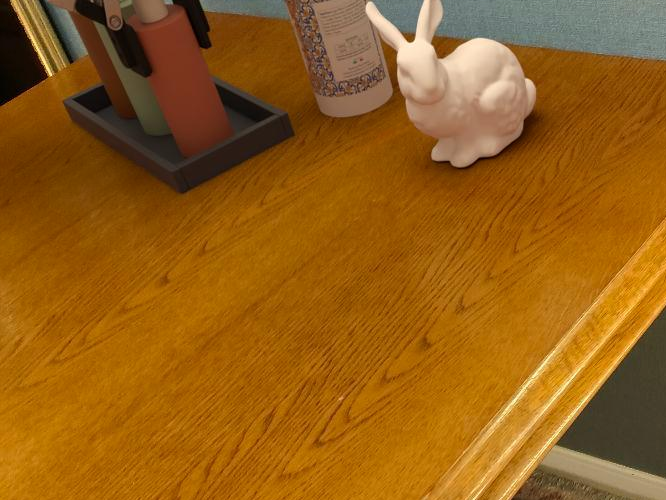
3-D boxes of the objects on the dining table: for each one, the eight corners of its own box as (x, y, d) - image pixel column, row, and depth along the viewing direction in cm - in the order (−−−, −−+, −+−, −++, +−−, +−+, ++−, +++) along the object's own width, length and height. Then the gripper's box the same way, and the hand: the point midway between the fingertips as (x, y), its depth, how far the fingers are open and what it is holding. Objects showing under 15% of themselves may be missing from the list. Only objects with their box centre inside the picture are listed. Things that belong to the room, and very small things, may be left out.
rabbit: (446, 187, 80) (409, 33, 71) (384, 152, 85) (342, 4, 76) (562, 124, 84) (540, -30, 75) (495, 94, 89) (468, -53, 80)
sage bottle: (159, 141, 91) (89, -9, 82) (135, 127, 94) (66, -20, 85) (205, 118, 93) (143, -32, 83) (181, 104, 96) (118, -42, 86)
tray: (185, 202, 85) (171, 171, 83) (75, 128, 98) (61, 100, 96) (298, 142, 89) (287, 112, 87) (178, 79, 102) (166, 51, 100)
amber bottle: (131, 124, 95) (61, -23, 85) (109, 110, 98) (39, -33, 88) (176, 102, 97) (113, -44, 87) (154, 89, 99) (90, -54, 90)
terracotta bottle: (197, 165, 87) (129, 9, 77) (171, 149, 90) (102, -3, 80) (245, 140, 89) (184, -15, 79) (218, 125, 92) (157, -27, 82)
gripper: (145, -242, 75) (236, 10, 89) (-71, -168, 69) (62, 90, 83) (190, -236, 71) (279, 28, 85) (-35, -157, 65) (99, 113, 79)
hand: (170, 56), depth 84 cm, fingers closed on terracotta bottle, 5 cm apart
